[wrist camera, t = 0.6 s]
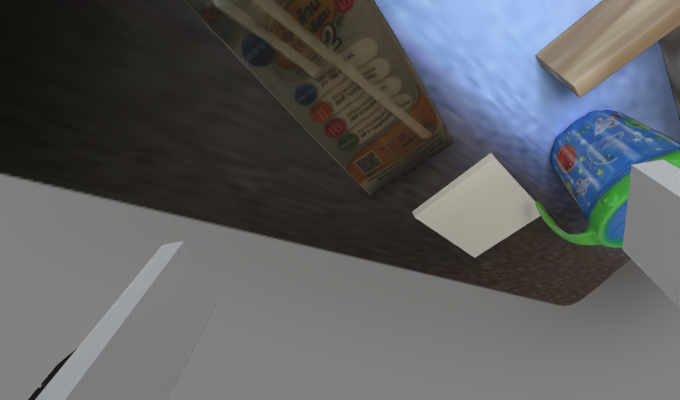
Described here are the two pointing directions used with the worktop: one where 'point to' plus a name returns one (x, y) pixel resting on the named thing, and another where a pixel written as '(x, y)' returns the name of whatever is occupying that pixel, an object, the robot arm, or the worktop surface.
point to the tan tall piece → (615, 43)
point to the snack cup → (604, 170)
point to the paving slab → (479, 207)
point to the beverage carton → (336, 79)
